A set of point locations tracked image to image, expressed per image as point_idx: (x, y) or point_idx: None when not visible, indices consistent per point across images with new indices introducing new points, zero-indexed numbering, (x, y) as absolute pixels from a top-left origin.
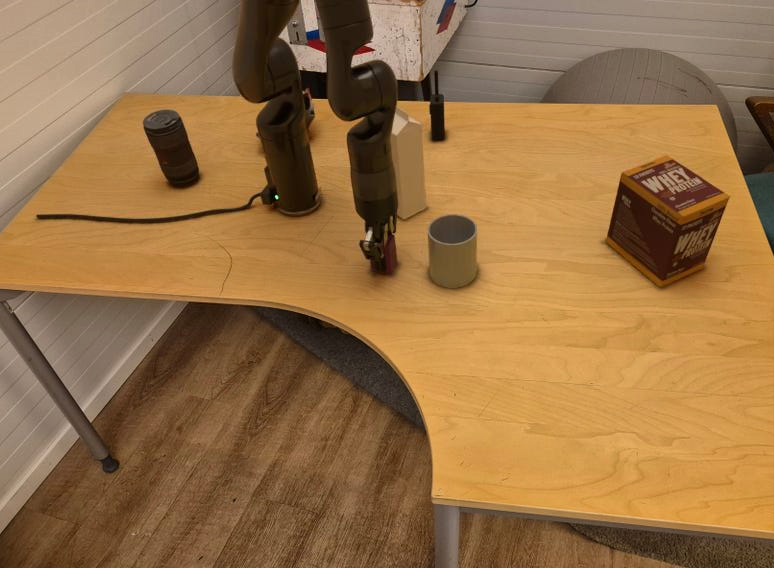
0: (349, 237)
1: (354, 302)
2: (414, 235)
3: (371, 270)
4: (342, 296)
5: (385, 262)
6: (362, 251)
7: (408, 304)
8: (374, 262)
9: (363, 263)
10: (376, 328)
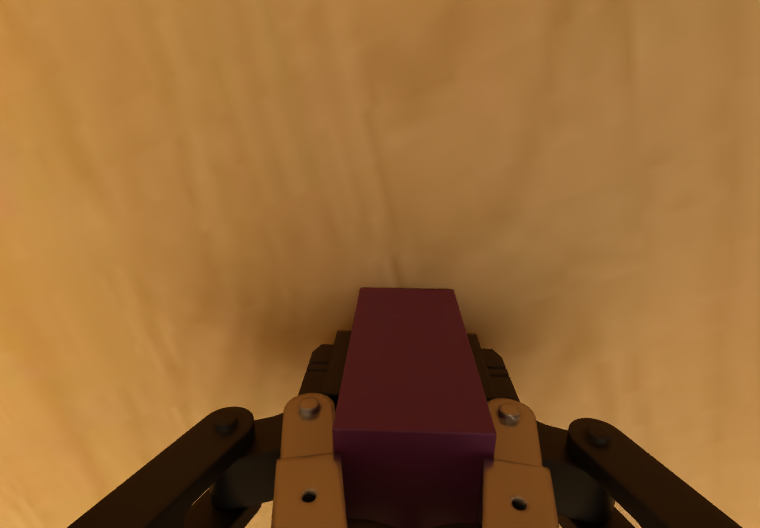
0: (665, 26)
1: (111, 282)
2: (692, 407)
3: (359, 291)
4: (121, 206)
5: None
6: (79, 520)
7: None
8: (303, 387)
9: (413, 222)
10: (19, 421)
